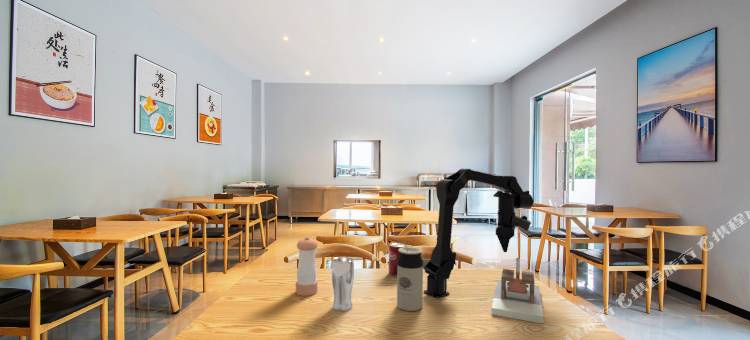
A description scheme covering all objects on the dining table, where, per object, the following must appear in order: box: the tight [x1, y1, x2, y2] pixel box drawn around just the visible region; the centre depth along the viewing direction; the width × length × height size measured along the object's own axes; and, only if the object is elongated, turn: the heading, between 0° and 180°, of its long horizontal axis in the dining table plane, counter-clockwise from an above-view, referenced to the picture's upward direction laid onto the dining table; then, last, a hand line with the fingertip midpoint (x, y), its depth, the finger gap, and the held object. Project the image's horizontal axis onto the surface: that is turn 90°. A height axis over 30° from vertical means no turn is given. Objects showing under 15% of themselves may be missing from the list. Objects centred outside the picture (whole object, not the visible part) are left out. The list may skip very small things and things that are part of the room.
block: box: [508, 277, 526, 293], centre depth 112 cm, size 5×5×5 cm
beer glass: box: [331, 256, 355, 312], centre depth 106 cm, size 7×7×15 cm
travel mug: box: [396, 246, 424, 312], centre depth 107 cm, size 8×8×18 cm
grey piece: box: [506, 257, 529, 301], centre depth 112 cm, size 8×7×11 cm
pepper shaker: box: [295, 236, 318, 297], centre depth 118 cm, size 7×7×19 cm
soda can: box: [388, 242, 408, 277], centre depth 139 cm, size 7×7×12 cm
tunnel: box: [500, 268, 535, 304], centre depth 112 cm, size 10×10×7 cm
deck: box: [491, 280, 545, 324], centre depth 112 cm, size 27×14×2 cm, turn 157°
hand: (505, 250), depth 128 cm, fingers open, 5 cm apart
